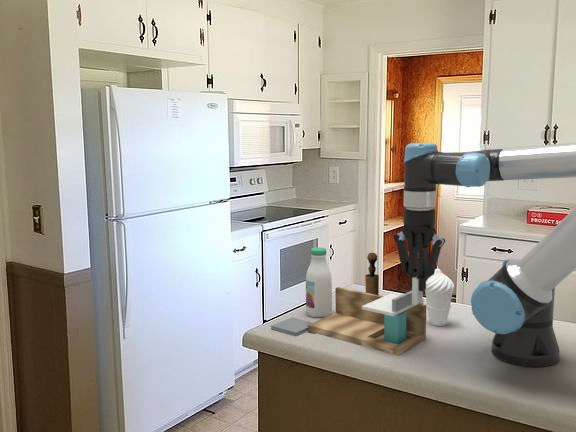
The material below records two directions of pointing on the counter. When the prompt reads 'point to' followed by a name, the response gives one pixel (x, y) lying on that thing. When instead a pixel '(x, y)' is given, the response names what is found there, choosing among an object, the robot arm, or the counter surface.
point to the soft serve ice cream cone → (438, 297)
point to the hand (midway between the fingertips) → (417, 302)
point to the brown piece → (368, 323)
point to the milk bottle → (318, 285)
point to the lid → (391, 304)
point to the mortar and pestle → (372, 276)
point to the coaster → (292, 326)
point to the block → (395, 328)
